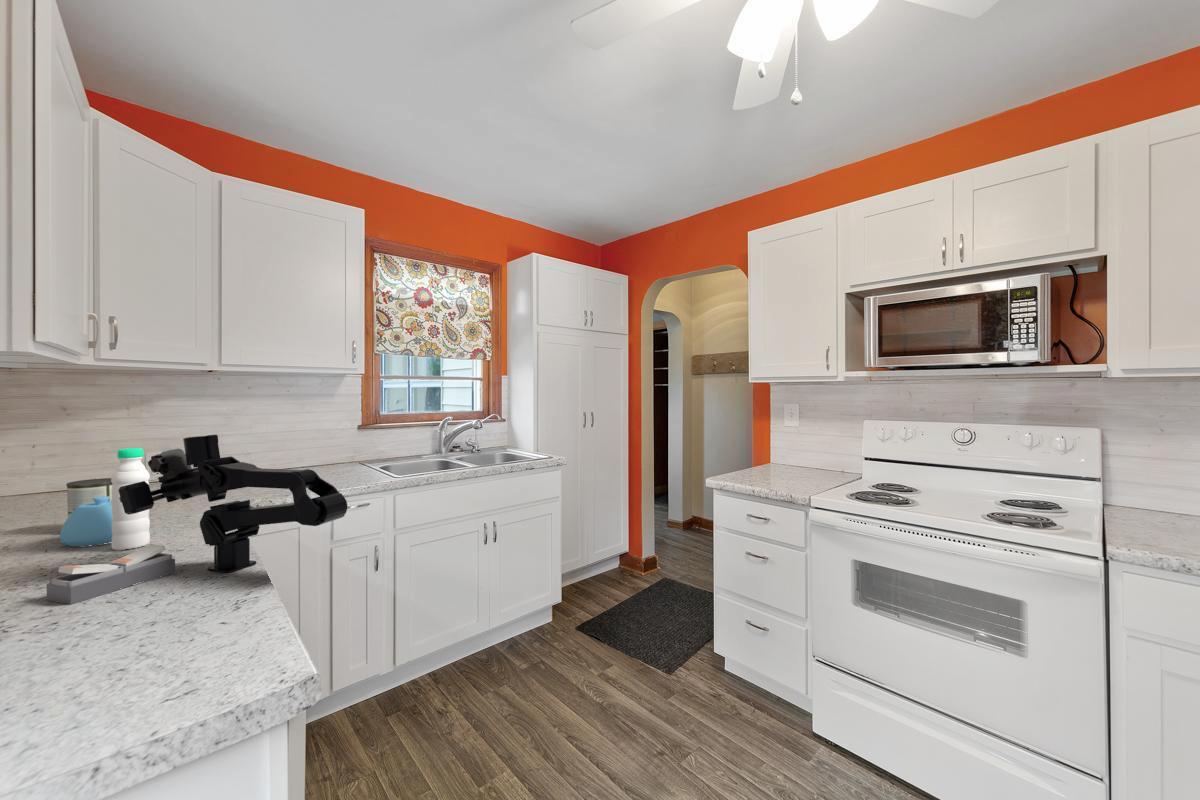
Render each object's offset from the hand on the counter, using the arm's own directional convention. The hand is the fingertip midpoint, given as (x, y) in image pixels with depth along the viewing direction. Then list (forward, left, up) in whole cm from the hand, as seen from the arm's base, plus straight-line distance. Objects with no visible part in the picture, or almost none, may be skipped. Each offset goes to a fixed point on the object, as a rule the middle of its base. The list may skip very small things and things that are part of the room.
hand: (143, 493), depth 114 cm
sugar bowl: (+30, -8, -16) cm, 35 cm away
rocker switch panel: (-13, +12, -16) cm, 24 cm away
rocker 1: (-13, +17, -11) cm, 24 cm away
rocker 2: (-13, +8, -11) cm, 19 cm away
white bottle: (+15, -6, -16) cm, 23 cm away
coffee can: (+45, -14, -16) cm, 50 cm away
